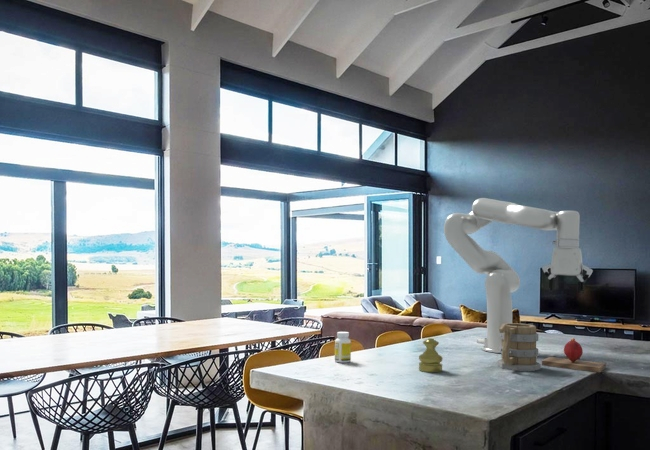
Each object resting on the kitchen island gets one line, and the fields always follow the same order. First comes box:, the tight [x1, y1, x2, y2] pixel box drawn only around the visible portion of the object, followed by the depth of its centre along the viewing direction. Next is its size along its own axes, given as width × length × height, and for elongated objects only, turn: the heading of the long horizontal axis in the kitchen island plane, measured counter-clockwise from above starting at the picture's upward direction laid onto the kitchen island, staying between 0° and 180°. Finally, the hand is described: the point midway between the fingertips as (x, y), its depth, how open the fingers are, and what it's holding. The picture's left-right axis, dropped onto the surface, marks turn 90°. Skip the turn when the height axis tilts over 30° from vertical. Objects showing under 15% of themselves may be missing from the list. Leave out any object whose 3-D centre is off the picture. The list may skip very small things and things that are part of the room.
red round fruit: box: [563, 337, 584, 362], centre depth 187 cm, size 6×6×8 cm
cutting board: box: [541, 356, 607, 373], centre depth 187 cm, size 18×10×2 cm, turn 54°
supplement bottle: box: [334, 331, 352, 364], centre depth 187 cm, size 5×5×10 cm
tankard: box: [496, 322, 542, 372], centre depth 181 cm, size 20×13×15 cm, turn 135°
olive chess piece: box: [418, 337, 443, 374], centre depth 175 cm, size 7×7×10 cm
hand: (566, 291), depth 201 cm, fingers open, 9 cm apart
